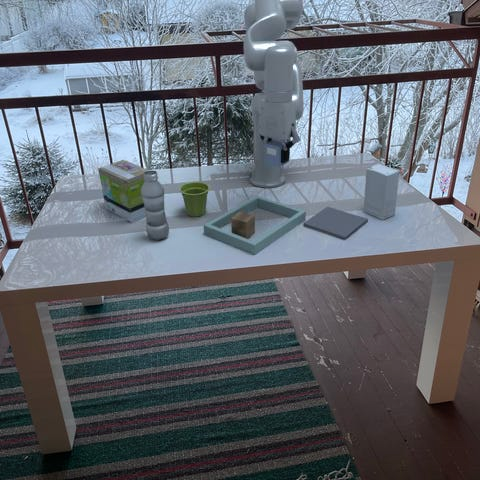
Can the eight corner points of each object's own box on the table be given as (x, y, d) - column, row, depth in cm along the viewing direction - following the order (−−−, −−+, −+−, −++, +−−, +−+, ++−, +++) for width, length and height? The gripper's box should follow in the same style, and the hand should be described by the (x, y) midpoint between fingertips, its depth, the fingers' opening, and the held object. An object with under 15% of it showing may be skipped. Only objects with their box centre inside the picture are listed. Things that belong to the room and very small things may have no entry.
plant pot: (216, 209, 153) (214, 184, 148) (202, 221, 145) (200, 196, 141) (191, 204, 156) (189, 180, 152) (176, 216, 149) (173, 191, 145)
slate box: (264, 163, 136) (264, 143, 133) (275, 158, 139) (275, 138, 136) (278, 167, 133) (278, 147, 130) (289, 162, 136) (289, 142, 133)
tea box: (104, 209, 154) (96, 167, 147) (129, 199, 161) (123, 158, 153) (131, 223, 145) (124, 179, 138) (157, 212, 152) (152, 169, 144)
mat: (303, 226, 141) (303, 223, 141) (327, 209, 151) (327, 206, 150) (345, 240, 134) (345, 237, 133) (367, 221, 143) (368, 218, 142)
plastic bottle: (160, 244, 134) (152, 179, 124) (142, 238, 137) (132, 174, 127) (174, 234, 139) (167, 171, 128) (156, 229, 142) (148, 166, 132)
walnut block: (231, 236, 137) (231, 218, 134) (240, 229, 141) (239, 211, 138) (246, 240, 135) (246, 222, 132) (254, 233, 139) (254, 214, 136)
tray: (204, 234, 139) (203, 225, 137) (257, 203, 155) (257, 195, 154) (254, 254, 128) (254, 245, 127) (305, 219, 145) (305, 211, 143)
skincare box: (394, 215, 146) (402, 170, 138) (381, 221, 143) (388, 175, 136) (374, 206, 152) (380, 162, 144) (361, 211, 149) (366, 166, 142)
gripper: (245, 93, 129) (246, 156, 138) (296, 103, 119) (293, 170, 128) (262, 88, 133) (262, 149, 143) (312, 97, 124) (309, 162, 133)
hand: (277, 159), depth 136 cm, fingers closed on slate box, 5 cm apart
